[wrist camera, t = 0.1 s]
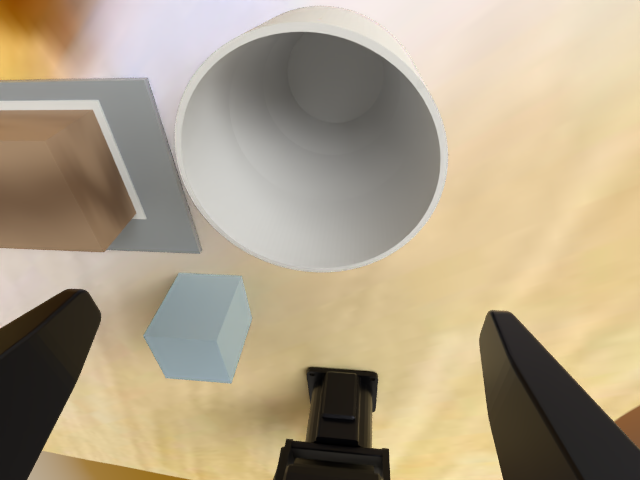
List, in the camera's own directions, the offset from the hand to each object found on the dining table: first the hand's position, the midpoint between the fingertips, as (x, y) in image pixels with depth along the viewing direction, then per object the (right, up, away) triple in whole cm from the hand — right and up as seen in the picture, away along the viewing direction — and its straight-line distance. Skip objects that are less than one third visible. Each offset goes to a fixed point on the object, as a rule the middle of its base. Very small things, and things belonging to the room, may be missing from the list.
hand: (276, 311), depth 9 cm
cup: (+2, +10, +11) cm, 15 cm away
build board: (-14, +6, +16) cm, 22 cm away
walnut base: (-15, +6, +15) cm, 22 cm away
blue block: (-7, -3, +23) cm, 24 cm away
